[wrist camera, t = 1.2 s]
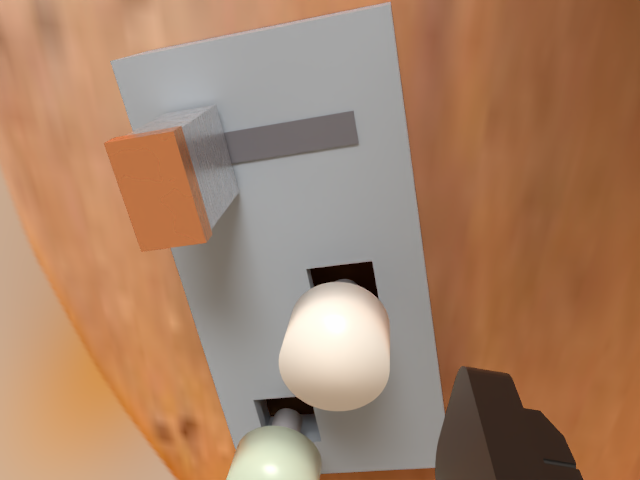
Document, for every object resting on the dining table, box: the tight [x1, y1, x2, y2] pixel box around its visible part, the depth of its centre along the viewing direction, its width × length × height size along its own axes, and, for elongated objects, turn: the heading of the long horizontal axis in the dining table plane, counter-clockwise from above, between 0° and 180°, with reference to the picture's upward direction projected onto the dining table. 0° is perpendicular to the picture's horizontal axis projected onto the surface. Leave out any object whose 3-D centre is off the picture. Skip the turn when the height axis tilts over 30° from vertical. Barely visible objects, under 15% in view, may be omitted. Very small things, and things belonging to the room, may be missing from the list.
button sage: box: [226, 408, 322, 480], centre depth 29 cm, size 4×4×6 cm
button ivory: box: [279, 279, 390, 411], centre depth 25 cm, size 4×4×6 cm
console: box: [110, 2, 445, 474], centre depth 29 cm, size 12×24×4 cm, turn 10°
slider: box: [104, 104, 239, 252], centre depth 23 cm, size 3×4×5 cm, turn 10°
